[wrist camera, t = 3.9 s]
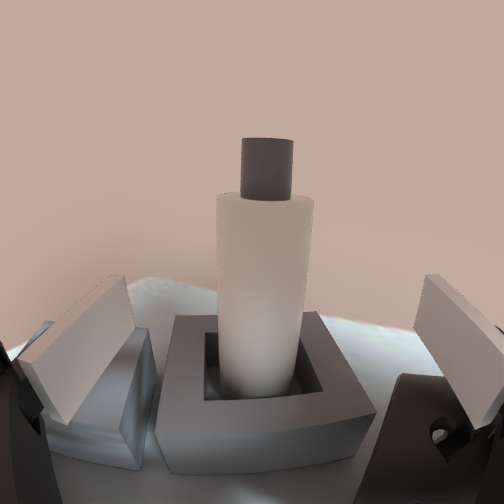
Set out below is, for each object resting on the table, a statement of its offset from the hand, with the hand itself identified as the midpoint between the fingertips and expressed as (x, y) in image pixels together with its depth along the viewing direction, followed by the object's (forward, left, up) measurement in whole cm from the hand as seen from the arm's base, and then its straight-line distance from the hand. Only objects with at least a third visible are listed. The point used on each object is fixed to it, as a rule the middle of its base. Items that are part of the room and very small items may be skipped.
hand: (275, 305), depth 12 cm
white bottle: (+4, 0, -10) cm, 11 cm away
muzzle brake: (-16, -14, -9) cm, 23 cm away
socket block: (+4, 0, -12) cm, 12 cm away
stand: (+3, +13, -12) cm, 18 cm away
